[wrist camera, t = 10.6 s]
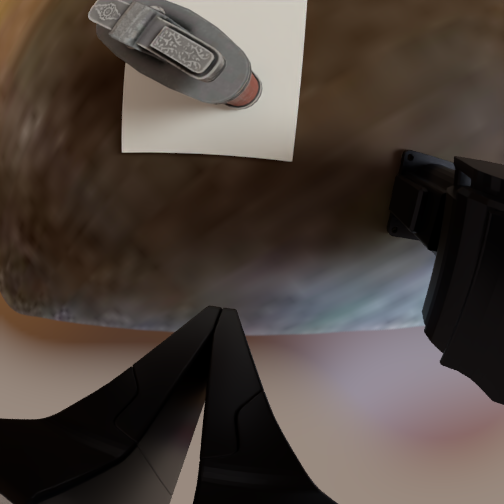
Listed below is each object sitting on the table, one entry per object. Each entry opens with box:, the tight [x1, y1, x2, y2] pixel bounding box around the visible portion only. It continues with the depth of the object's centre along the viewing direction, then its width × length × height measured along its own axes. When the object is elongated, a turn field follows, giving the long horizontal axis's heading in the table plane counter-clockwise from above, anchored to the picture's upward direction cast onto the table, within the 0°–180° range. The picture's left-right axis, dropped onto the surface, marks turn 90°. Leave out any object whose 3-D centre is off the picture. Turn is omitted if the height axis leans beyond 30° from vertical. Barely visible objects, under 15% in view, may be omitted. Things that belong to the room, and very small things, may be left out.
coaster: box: [122, 0, 307, 162], centre depth 16 cm, size 12×12×1 cm
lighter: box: [88, 0, 263, 110], centre depth 11 cm, size 8×3×10 cm, turn 51°
